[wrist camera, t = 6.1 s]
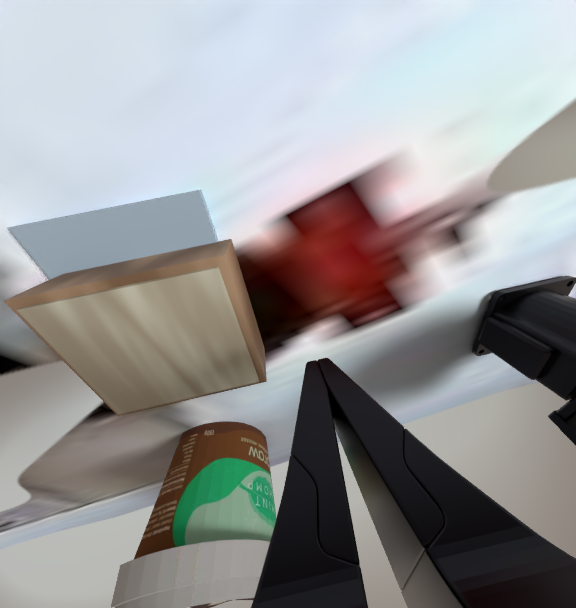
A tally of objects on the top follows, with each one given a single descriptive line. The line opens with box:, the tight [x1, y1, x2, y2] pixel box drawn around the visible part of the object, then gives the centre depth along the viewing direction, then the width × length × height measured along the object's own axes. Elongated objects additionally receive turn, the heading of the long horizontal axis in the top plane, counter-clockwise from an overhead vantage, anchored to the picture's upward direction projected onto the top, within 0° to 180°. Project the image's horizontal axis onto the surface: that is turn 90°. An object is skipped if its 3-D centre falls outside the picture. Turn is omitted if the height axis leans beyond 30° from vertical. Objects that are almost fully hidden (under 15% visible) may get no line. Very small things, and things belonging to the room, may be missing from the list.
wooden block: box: [4, 239, 267, 416], centre depth 12 cm, size 3×8×9 cm
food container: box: [111, 422, 276, 608], centre depth 17 cm, size 12×6×10 cm, turn 37°
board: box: [8, 190, 218, 280], centre depth 13 cm, size 9×13×1 cm
